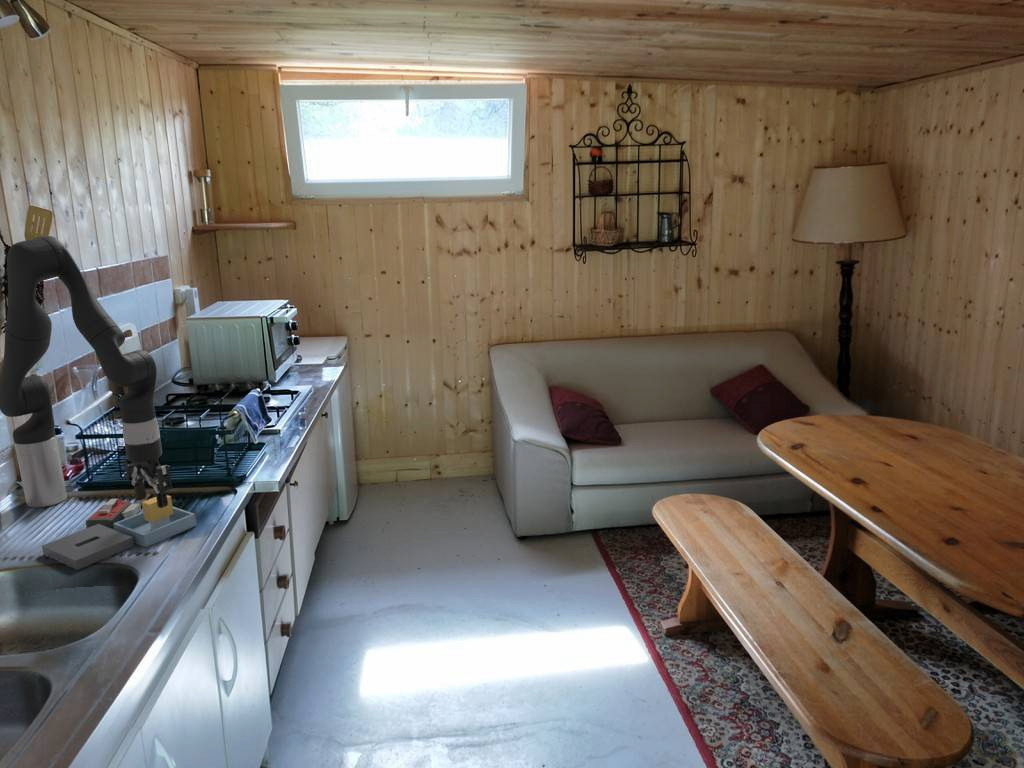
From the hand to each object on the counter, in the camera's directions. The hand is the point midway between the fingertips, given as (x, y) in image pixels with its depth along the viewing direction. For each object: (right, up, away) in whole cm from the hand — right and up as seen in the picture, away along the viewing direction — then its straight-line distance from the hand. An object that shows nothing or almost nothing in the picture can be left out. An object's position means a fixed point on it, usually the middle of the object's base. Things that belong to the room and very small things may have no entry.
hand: (152, 502), depth 184 cm
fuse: (+1, -6, +2) cm, 7 cm away
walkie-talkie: (-13, -5, +11) cm, 18 cm away
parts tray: (0, -7, +2) cm, 7 cm away
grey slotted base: (-11, -10, -8) cm, 16 cm away
